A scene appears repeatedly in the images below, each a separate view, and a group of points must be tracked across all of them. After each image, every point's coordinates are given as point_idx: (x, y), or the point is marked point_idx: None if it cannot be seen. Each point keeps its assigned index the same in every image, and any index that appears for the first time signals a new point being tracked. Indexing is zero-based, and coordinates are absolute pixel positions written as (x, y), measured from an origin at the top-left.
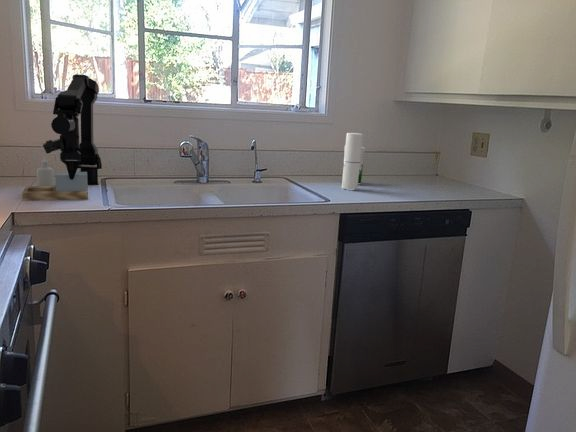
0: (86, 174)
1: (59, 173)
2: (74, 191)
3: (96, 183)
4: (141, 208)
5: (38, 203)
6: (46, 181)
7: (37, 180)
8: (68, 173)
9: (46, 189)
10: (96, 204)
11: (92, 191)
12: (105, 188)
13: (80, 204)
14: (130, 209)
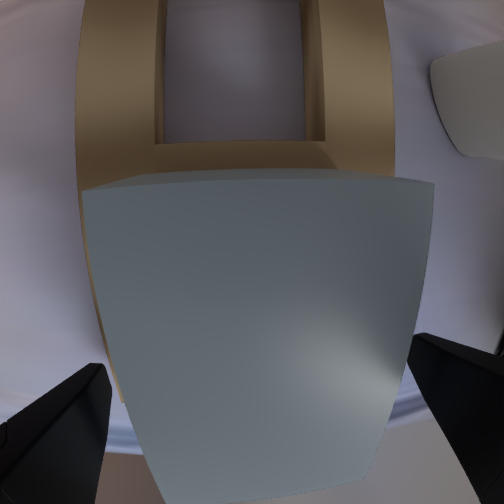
0: (201, 501)
1: (263, 245)
2: None
3: (500, 356)
4: None
5: (18, 87)
6: (478, 101)
7: (483, 46)
8: (37, 399)
9: (317, 84)
10: (30, 395)
11: None
12: (425, 404)
13: (9, 329)
14: None
